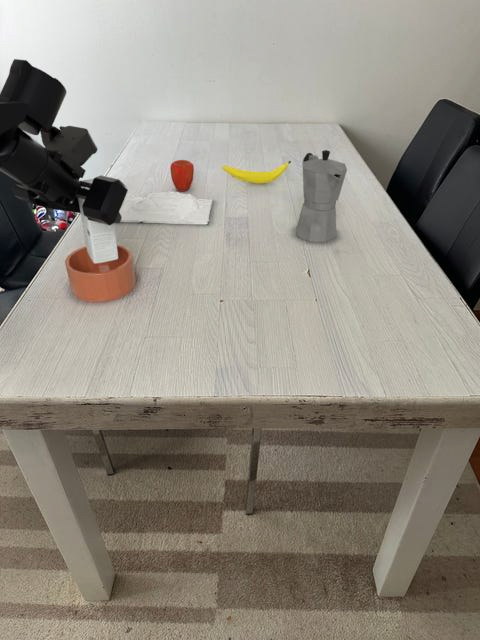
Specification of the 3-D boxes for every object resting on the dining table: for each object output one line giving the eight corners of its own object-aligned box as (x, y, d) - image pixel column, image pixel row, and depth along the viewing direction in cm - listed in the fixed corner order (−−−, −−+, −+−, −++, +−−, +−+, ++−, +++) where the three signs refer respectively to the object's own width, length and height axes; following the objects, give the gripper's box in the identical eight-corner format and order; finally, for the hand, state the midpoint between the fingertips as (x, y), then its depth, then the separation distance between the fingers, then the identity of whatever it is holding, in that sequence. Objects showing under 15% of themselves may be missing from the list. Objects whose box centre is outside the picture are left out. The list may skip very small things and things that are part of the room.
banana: (221, 181, 124) (221, 158, 121) (288, 182, 125) (290, 159, 121) (221, 185, 122) (221, 162, 118) (289, 185, 123) (291, 162, 119)
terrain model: (122, 203, 113) (119, 184, 110) (212, 198, 115) (210, 178, 112) (113, 230, 100) (108, 209, 97) (214, 224, 101) (213, 203, 98)
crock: (76, 308, 74) (68, 280, 71) (68, 276, 82) (61, 249, 79) (142, 294, 78) (138, 267, 74) (128, 264, 86) (124, 239, 83)
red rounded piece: (198, 191, 118) (197, 163, 114) (176, 195, 116) (174, 166, 111) (189, 184, 123) (188, 156, 118) (168, 187, 120) (166, 159, 116)
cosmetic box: (85, 250, 77) (71, 180, 69) (111, 245, 78) (100, 176, 71) (94, 265, 72) (80, 193, 65) (121, 259, 74) (110, 188, 67)
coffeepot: (349, 244, 94) (364, 158, 84) (309, 250, 92) (319, 162, 81) (317, 216, 106) (326, 137, 95) (280, 220, 104) (286, 140, 93)
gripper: (107, 118, 55) (167, 181, 69) (7, 101, 62) (80, 162, 77) (72, 198, 54) (140, 245, 68) (-26, 172, 61) (54, 220, 76)
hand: (103, 215), depth 72 cm, fingers closed on cosmetic box, 7 cm apart
